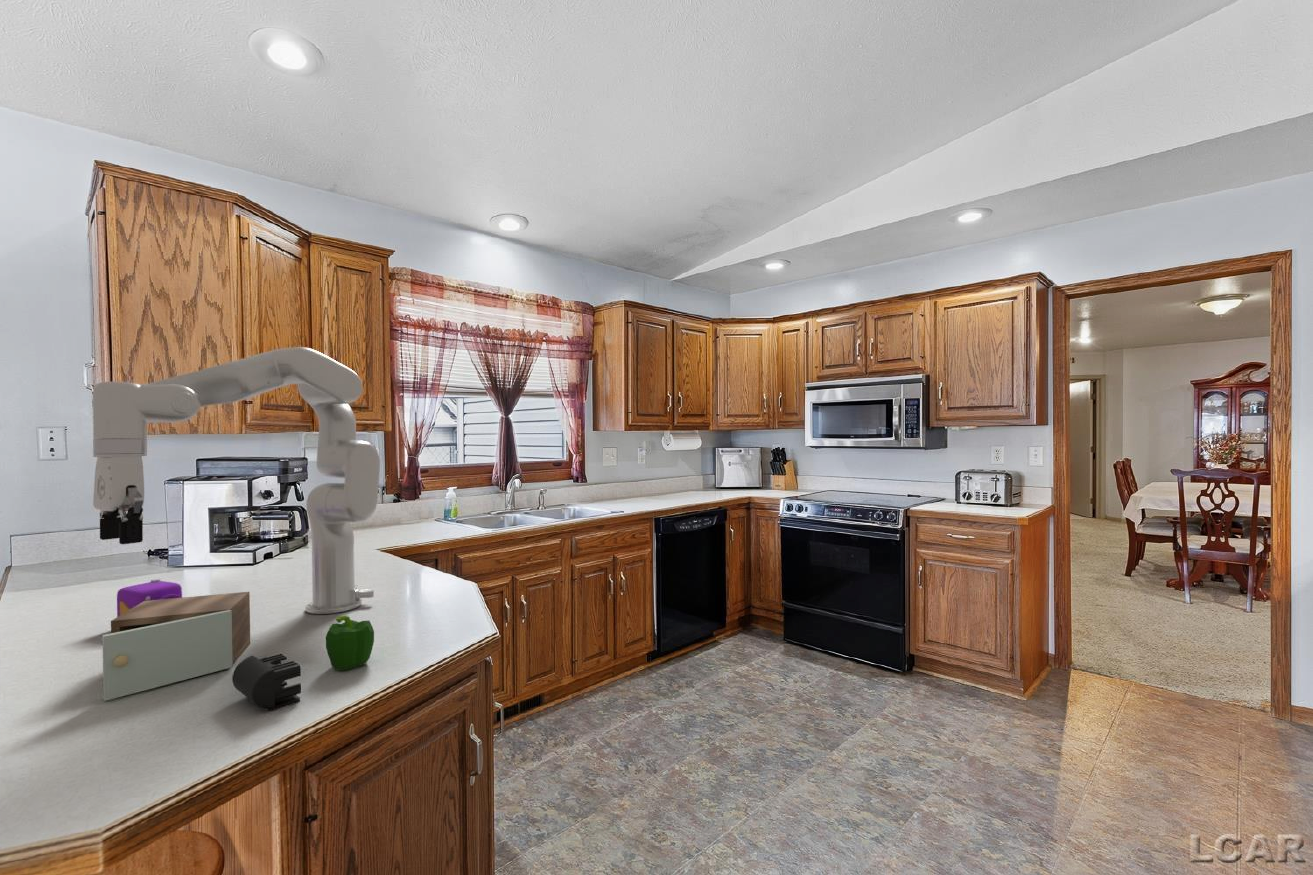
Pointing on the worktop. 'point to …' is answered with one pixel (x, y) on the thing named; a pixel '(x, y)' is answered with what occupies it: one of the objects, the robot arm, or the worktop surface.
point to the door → (166, 653)
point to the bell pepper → (349, 643)
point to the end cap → (268, 681)
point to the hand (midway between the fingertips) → (121, 540)
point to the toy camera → (146, 594)
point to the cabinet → (192, 615)
